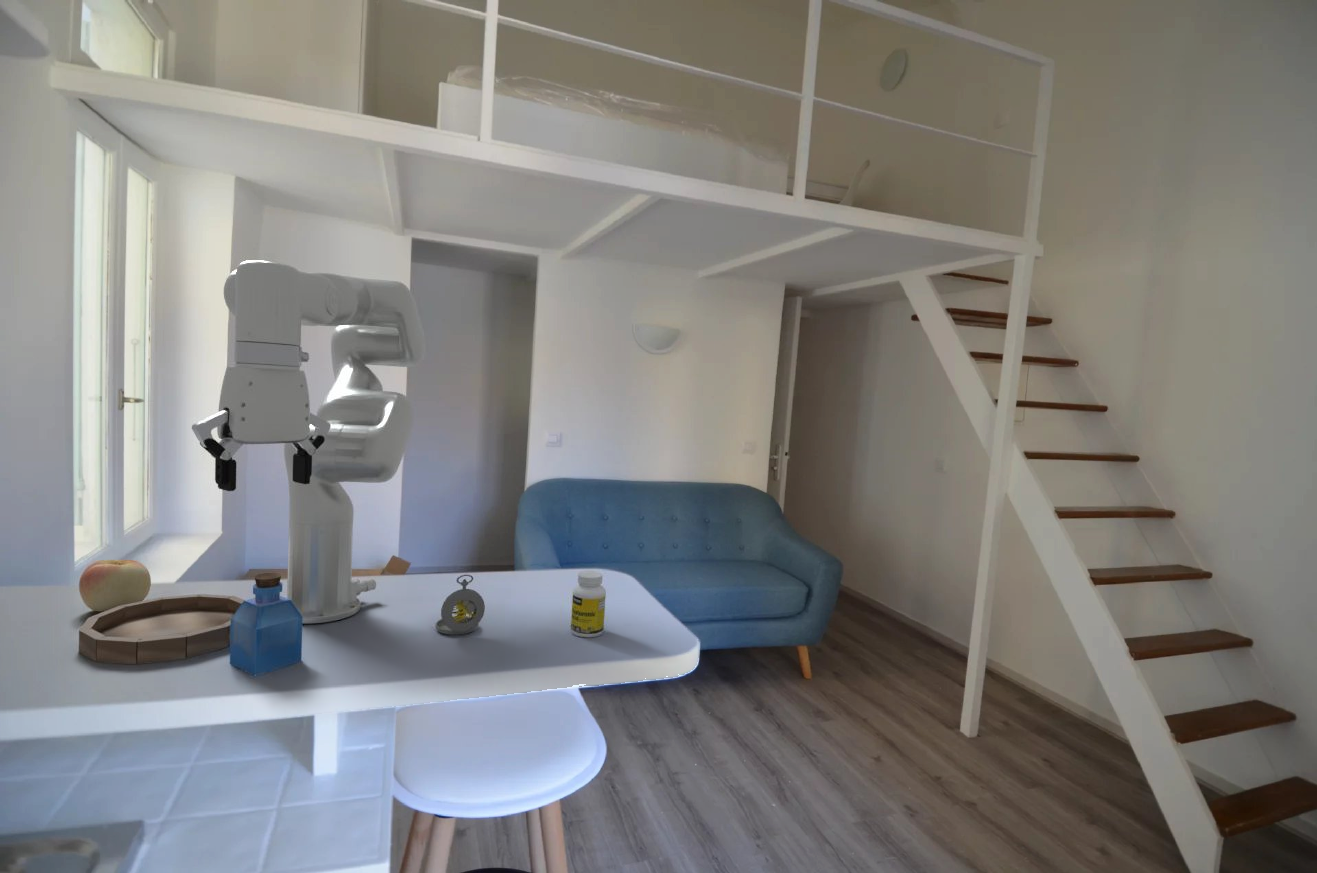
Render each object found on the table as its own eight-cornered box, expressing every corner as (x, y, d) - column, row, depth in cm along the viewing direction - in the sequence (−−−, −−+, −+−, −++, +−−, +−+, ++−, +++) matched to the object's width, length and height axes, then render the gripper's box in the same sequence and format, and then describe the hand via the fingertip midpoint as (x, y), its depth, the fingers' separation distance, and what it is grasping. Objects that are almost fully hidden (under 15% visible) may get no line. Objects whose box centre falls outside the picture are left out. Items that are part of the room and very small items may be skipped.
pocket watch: (455, 619, 111) (458, 560, 111) (495, 630, 108) (498, 569, 107) (418, 634, 104) (421, 571, 103) (459, 645, 100) (462, 580, 100)
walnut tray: (210, 604, 111) (210, 587, 111) (279, 632, 101) (279, 613, 101) (56, 639, 94) (56, 618, 93) (121, 676, 84) (121, 653, 83)
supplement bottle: (564, 634, 107) (567, 575, 107) (580, 624, 112) (583, 567, 112) (594, 640, 105) (597, 580, 105) (609, 630, 110) (612, 572, 110)
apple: (68, 612, 104) (68, 561, 104) (132, 597, 112) (133, 551, 112) (98, 623, 100) (98, 571, 100) (162, 607, 108) (163, 559, 108)
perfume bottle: (301, 661, 92) (303, 575, 91) (255, 676, 86) (257, 585, 85) (276, 650, 95) (277, 567, 94) (229, 663, 89) (231, 576, 89)
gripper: (314, 361, 97) (312, 477, 98) (180, 352, 82) (178, 488, 83) (345, 363, 93) (342, 484, 94) (210, 353, 78) (208, 497, 79)
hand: (265, 486), depth 89 cm, fingers open, 9 cm apart
